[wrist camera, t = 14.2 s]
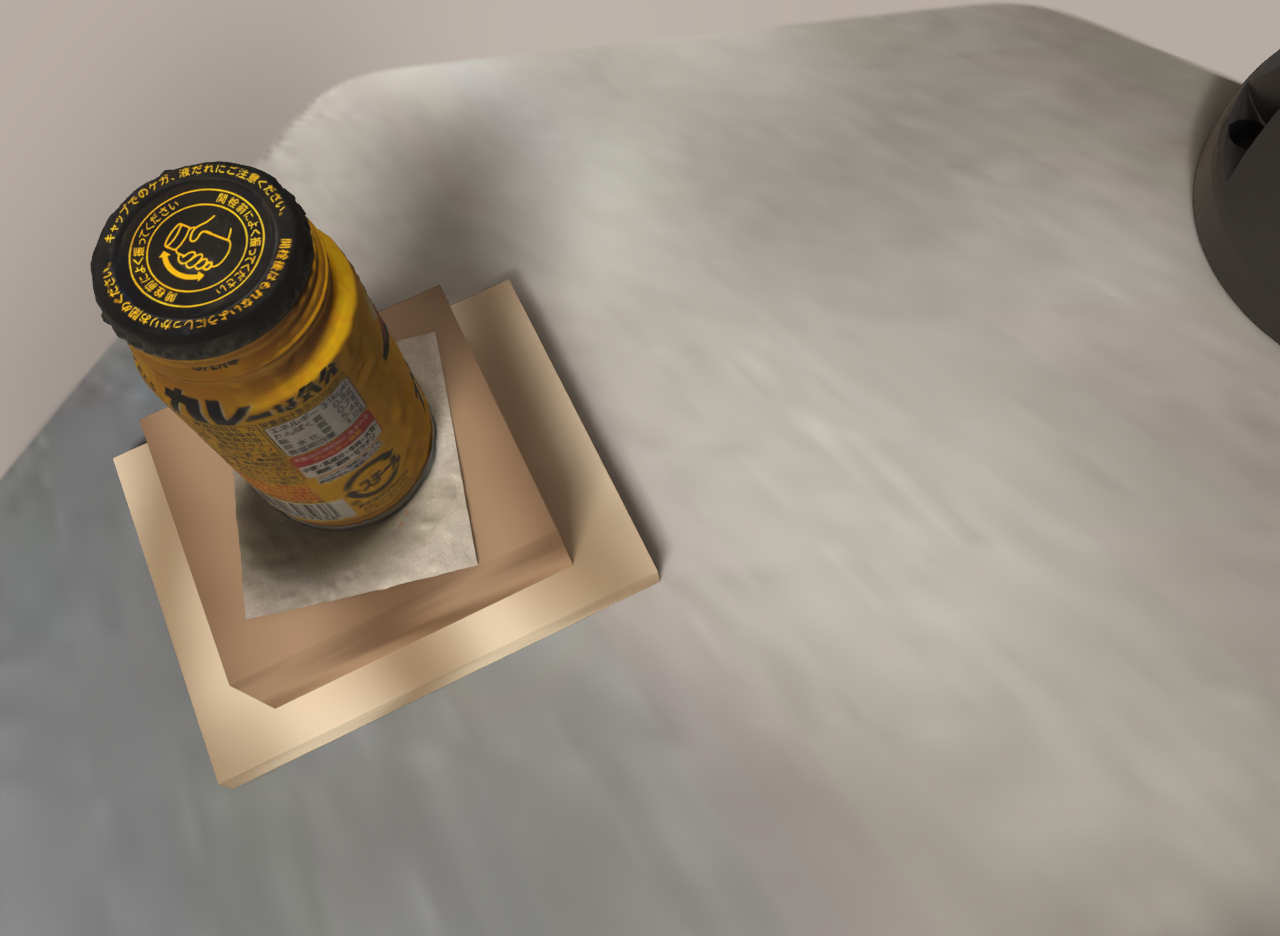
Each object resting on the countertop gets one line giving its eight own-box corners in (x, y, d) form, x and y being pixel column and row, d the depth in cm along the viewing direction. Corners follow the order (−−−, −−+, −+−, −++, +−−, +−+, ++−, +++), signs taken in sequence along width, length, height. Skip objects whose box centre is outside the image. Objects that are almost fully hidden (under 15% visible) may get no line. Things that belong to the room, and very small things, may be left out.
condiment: (436, 334, 40) (319, 99, 29) (478, 567, 37) (365, 403, 26) (226, 384, 40) (27, 168, 29) (250, 622, 37) (36, 482, 26)
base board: (514, 295, 46) (489, 222, 41) (660, 581, 41) (649, 535, 37) (128, 470, 45) (58, 415, 40) (233, 788, 40) (166, 768, 35)
